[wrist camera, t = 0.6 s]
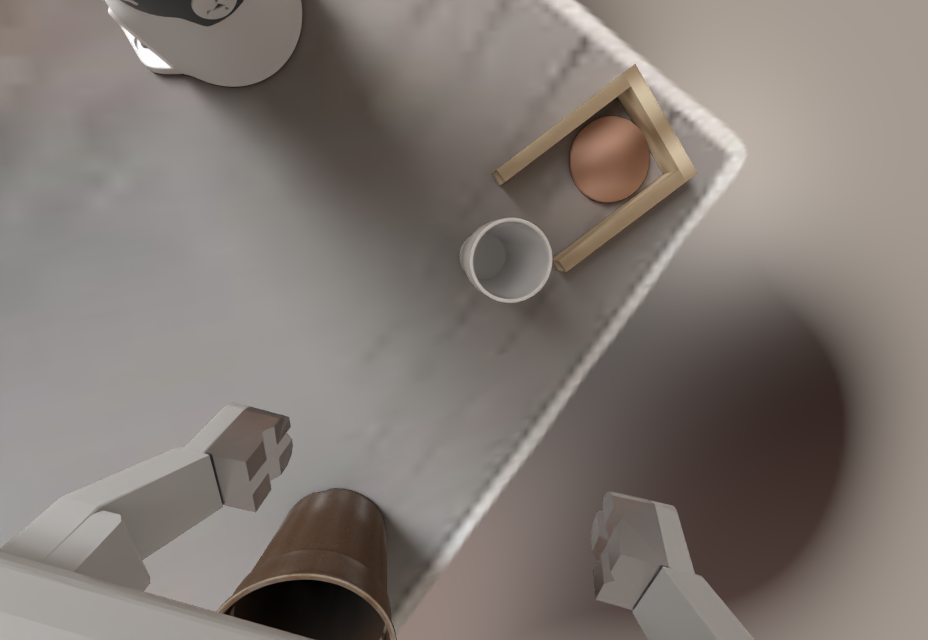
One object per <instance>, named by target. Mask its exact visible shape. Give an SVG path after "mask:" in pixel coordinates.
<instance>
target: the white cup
mask: <svg viewBox="0 0 928 640" xmlns="http://www.w3.org/2000/svg"><path fill="white" fill-rule="evenodd" d="M459 258H460V263H461V266H462V268H463V270H464V271H465V273H466V276H467V278H468V279H469V281H470V282H471V284H472V285H473V286H474V287H475V288H476V289H477V290H478V291H479V292H481V293H482V294H484V295H485V296H487V297H489V298H491V299H494V300H496V301H499V302H504V303H516V302H521V301H524V300H526V299H529V298H530V297H532V296H534V295H535V294H536V293H537V292H539V291H540V290H541V289H542V287H543V286H544V285H545V283H546V282H547V280H548V278H549V275H550V273H551V269H552V261H553V257H552V250H551V246H550V243H549V241H548V239H547V237H546V236H545V234H544V233H543V232H542V231H541V230H540V229H539V228H538V227H537V226H536V225H534V224H533V223H531V222H529V221H527V220H524V219H520V218H501V219H496V220H493V221H490V222H488V223H486V224H484V225H482V226H481V227H479V228H478V229H477V230H476V231H474V233H473V234H472V235H471V236H469V237H468V238H467V239H466V240H465V241H464V243H463V244H462V246H461V249H460V255H459Z"/></svg>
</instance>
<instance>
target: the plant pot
mask: <svg viewBox="0 0 928 640" xmlns="http://www.w3.org/2000/svg"><path fill="white" fill-rule="evenodd" d="M217 612H218V613H222V614H226V615H229V616H233V617H236V618H240V619H243V620H247V621H250V622H254V623H258V624H261V625H265V626H268V627H272V628H275V629H279V630H283V631H286V632H290V633H293V634H297V635H300V636H304V637H307V638H311V639H315V640H396V634H395V630H394V626H393V623H392V621H391V608H390V602H389V598H388V595H387V571H386V529H385V524H384V521H383V517H382V515H381V513H380V511H379V510H378V508H377V507H376V506H375V505H374V504H373V503H372V502H371V501H370V500H368V499H367V498H366V497H364V496H362V495H360V494H358V493H356V492H353V491H350V490H345V489H329V490H327V491H323V492H318V493H312V494H309V495H308V496H306V497H304V498H303V499H301V500H300V501H299V502H298V503H297V504H296V505H295V506H294V507H293V508H292V509H291V510H290V512H289V513H288V515H287V516H286V518H285V520H284V521H283V523H282V525H281V526H280V528H279V529H278V531H277V533H276V534H275V536H274V537H273V539H272V541H271V542H270V544H269V545H268V547H267V548H266V550H265V552H264V553H263V555H262V556H261V558H260V559H259V561H258V562H257V564H256V566H255V567H254V569H253V570H252V572H251V573H250V574H249V575H248V576H247V577H246V578H245V579H244V580H243V581H242V582H241V584H240V585H239V586H238V588H237V589H236V591H235V592H234V594H233V595H232V596H231V597H230V598H229V599H228V600H227V601H225V602H224V603H223V605H222V606H221V607H220V608H219V609H218V611H217Z"/></svg>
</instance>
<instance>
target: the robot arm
mask: <svg viewBox="0 0 928 640" xmlns="http://www.w3.org/2000/svg"><path fill="white" fill-rule="evenodd" d="M99 1H104V0H99ZM105 1H106V3H107V4H108V6H109V9H108V13H109V14H110V15H111V16H112V18H113V19H114V20H115V21H116V22H118V23H119V24H120V26H121V28H122V29H123V31H124V33H125V35H126V36H127V38H128V40H129V42H130V43H131V45H132V47H133V49H134V50H135V52H136V54H137V55H138V57H139V59H140V60H141V62H142V63H143V64H144V65H145V66H146V67H147V68H148V69H150V70H151V71H153V72H155V73H159V74H186V75H190V76H193V77H195V78H198V79H200V80H203V81H205V82H208V83H211V84H215V85H220V86H229V87H237V86H246V85H251V84H254V83H257V82H260V81H262V80H264V79H266V78H268V77H270V76H271V75H273V74H274V73H276V72H277V71H278V70H279V69H280V68H281V67H282V66H283V65H284V64H285V63H286V62H287V60H288V59H289V58H290V56H291V54H292V53H293V51H294V49H295V47H296V44H297V42H298V39H299V36H300V31H301V26H302V2H301V0H105ZM145 46H146V47H147V48H145ZM290 427H291V426H290V420H289V417H287V416H284V415H280V414H276V413H273V412H269V411H265V410H261V409H257V408H254V407H249V406H245V405H241V404H237V403H233V402H232V403H230V404H227V405H226V406H224V407H223V408H222V409H221V410H220V411H219V412H218V413H217V414H216V415H215V416H214V417H213V418H212V419H211V420H210V422H209V423H208V424H207V425H206V426H205V427H204V428H203V429H202V430H201V431H200V432H199V433H198V434H197V435H196V436H195V437H194V438H193V439H192V440H191V441H190V442H189V443H188V444H187V445H186V446H185V447H184V448H181V447H176V448H174V449H172V450H169V451H167V452H165V453H162V454H160V455H158V456H155V457H153V458H151V459H148V460H146V461H144V462H141V463H139V464H136V465H134V466H132V467H129V468H127V469H125V470H122V471H120V472H118V473H115V474H113V475H111V476H108V477H106V478H104V479H101V480H99V481H97V482H94V483H92V484H90V485H87V486H85V487H83V488H80V489H78V490H76V491H73V492H71V493H69V494H66V495H64V496H62V497H60V498H59V499H58V500H57V501H55V502H54V503H53V504H52V505H51V506H50V507H48V508H47V509H46V510H45V511H44V512H43V513H42V514H40V515H39V516H38V517H37V518H36V519H35V520H33V521H32V522H31V523H30V524H29V525H28V526H26V527H25V528H24V529H23V530H22V531H21V532H20V533H18V534H17V535H16V536H15V537H14V538H13V539H11V540H10V541H9V542H8V543H7V544H6V545H4V546H3V547H2V548H1V549H0V640H315V639H311V638H307V637H304V636H300V635H297V634H293V633H290V632H286V631H283V630H279V629H275V628H272V627H268V626H265V625H261V624H258V623H254V622H250V621H247V620H243V619H240V618H236V617H233V616H229V615H226V614H222V613H218V612H215V611H211V610H208V609H204V608H201V607H197V606H194V605H190V604H186V603H183V602H179V601H176V600H172V599H169V598H165V597H161V596H158V595H154V594H151V593H147V592H144V590H145V589H146V588H147V586H148V585H149V584H150V576H149V574H148V572H147V570H146V567H145V565H144V563H143V561H142V560H143V559H145V558H146V557H148V556H149V555H151V554H152V553H154V552H155V551H157V550H158V549H160V548H161V547H163V546H165V545H166V544H168V543H169V542H171V541H172V540H174V539H175V538H177V537H178V536H180V535H181V534H183V533H184V532H186V531H187V530H189V529H190V528H192V527H193V526H195V525H196V524H198V523H199V522H201V521H202V520H204V519H205V518H207V517H208V516H210V515H212V514H213V513H215V512H216V511H218V510H219V509H221V508H222V507H223V505H226V506H230V507H235V508H239V509H243V510H248V511H252V512H256V511H257V510H258V508H259V507H260V505H261V504H262V502H263V501H264V499H265V498H266V497H267V495H268V494H269V492H270V491H271V482H270V481H271V480H273V479H275V478H276V477H278V476H280V475H281V474H282V473H283V471H284V470H285V468H286V467H287V465H288V462H289V460H290V457H291V454H292V447H293V444H292V438H291V437H290V436H289V435H288V434H287V431H288V430H289V428H290ZM591 549H592V553H593V555H594V556H595V558H596V559H597V561H598V562H597V563H596V566H595V567H594V569H593V576H594V588H595V599H596V600H599V601H602V602H606V603H609V604H613V605H616V606H620V607H623V608H627V609H630V610H633V614H634V616H635V618H636V620H637V621H638V623H639V625H640V626H641V628H642V630H643V632H644V634H645V636H646V637H647V639H648V640H755V639H754V638H753V637H752V636H751V635H750V633H749V632H748V631H747V630H746V629H745V627H744V626H743V625H742V624H741V623H740V621H739V620H738V619H737V618H736V617H735V615H734V614H733V613H732V612H731V611H730V609H729V608H728V607H727V606H726V605H725V603H724V602H723V601H722V600H721V599H720V598H719V596H718V595H717V594H716V593H715V592H714V590H713V589H712V588H711V587H710V585H709V584H708V583H707V582H706V581H705V580H704V578H703V577H702V576H699V575H696V574H695V572H694V569H693V565H692V562H691V559H690V555H689V552H688V548H687V545H686V541H685V538H684V534H683V531H682V527H681V524H680V520H679V517H678V513H677V510H676V509H675V507H674V506H672V505H668V504H663V503H659V502H654V501H650V500H647V499H643V498H638V497H634V496H629V495H625V494H620V493H616V492H611V491H608V492H607V493H606V494H605V496H604V498H603V509H602V510H600V511H598V512H597V513H596V516H595V518H594V521H593V525H592V531H591Z"/></svg>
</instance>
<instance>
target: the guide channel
mask: <svg viewBox="0 0 928 640" xmlns="http://www.w3.org/2000/svg"><path fill="white" fill-rule="evenodd" d="M616 97H618V98H619V100H620V101H621V103H622V105H623V106H624V108H625V110H626V112H627V113H628V115H629V117H630V118H631V120H632V122H633V123H632V122H631V121H629V120H627V119H625V118H622V117H618V116H606V117H602V118H599V119H597V120H594V121H593V122H591V123H590V124H588V125H587V126H586V127H584V128H583V129H582V130H581V131H580V133H579V134H578V135H577V137H576V138H575V140H574V142H573V145H572V147H571V151H570V157H569V167H570V173H571V176H572V179H573V181H574V183H575V185H576V186H577V188H578V189H579V190H580V191H581V192H582V193H583V194H584V195H585V196H587V197H588V198H590V199H592V200H595V201H598V202H604V203H608V202H615V201H619V200H622V199H624V198H627V197H628V196H630V195H631V194H633V193H634V192H635V191H636V190H637V189H638V188H639V187H640V185H641V184H642V182H643V181H644V179H645V177H646V174H647V172H648V168H649V162H650V153H649V151H650V152H651V154H652V156H653V157H654V159H655V161H656V163H657V164H658V166H659V168H660V169H661V171H662V173H663V175H662V176H661V177H659V178H658V179H657V180H655V181H654V182H653V183H651V184H650V185H649V186H647V187H646V188H645V189H643V190H642V191H641V192H639V193H638V194H637V195H635V196H634V197H633V198H631V199H630V200H629V201H628V202H626V203H625V204H624V205H622V206H621V207H620V208H618V209H617V210H616V211H614V212H613V213H612V214H610V215H609V216H608V217H606V218H605V219H604V220H602V221H601V222H600V223H598V224H597V225H596V226H594V227H593V228H592V229H590V230H589V231H588V232H586V233H585V234H584V235H583V236H581V237H580V238H579V239H577V240H576V241H575V242H573V243H572V244H571V245H569V246H568V247H567V248H565V249H564V250H563V251H561V252H560V253H559V254H557V255H556V256H555V257H553V261H552V263H553V264H554V266H555V267H556V269H557V270H558V271H564V272H567V271H569V270H570V269H571V268H573V267H574V266H575V265H577V264H578V263H579V262H580V261H582V260H583V259H584V258H586V257H587V256H588V255H590V254H591V253H592V252H594V251H595V250H596V249H598V248H599V247H600V246H602V245H603V244H604V243H606V242H607V241H608V240H610V239H611V238H612V237H614V236H615V235H616V234H618V233H619V232H620V231H622V230H623V229H624V228H626V227H627V226H628V225H630V224H631V223H632V222H633V221H635V220H636V219H637V218H639V217H640V216H641V215H643V214H644V213H645V212H647V211H648V210H649V209H651V208H652V207H653V206H655V205H656V204H657V203H659V202H660V201H661V200H663V199H664V198H665V197H667V196H668V195H669V194H671V193H672V192H673V191H675V190H676V189H677V188H679V187H680V186H681V185H683V184H684V183H685V182H686V181H688V180H689V179H690V178H692V177H693V176H694V175H696V174H697V171H696V170H695V168H694V166H693V164H692V163H691V161H690V159H689V157H688V156H687V154H686V152H685V150H684V149H683V147H682V145H681V143H680V142H679V140H678V138H677V136H676V135H675V133H674V131H673V129H672V128H671V126H670V124H669V122H668V121H667V119H666V117H665V115H664V113H663V112H662V110H661V108H660V106H659V105H658V103H657V101H656V99H655V98H654V96H653V94H652V92H651V91H650V89H649V87H648V85H647V84H646V82H645V80H644V78H643V77H642V75H641V73H640V71H639V70H638V68H637V66H636V64H635V65H633V66H632V67H631V68H629V69H628V70H627V71H625V72H624V73H623V74H621V75H620V76H619V77H617V78H616V79H615V80H614V81H612V82H611V83H610V84H608V85H607V86H606V87H604V88H603V89H602V90H600V91H599V92H598V93H596V94H595V95H594V96H593V97H591V98H590V99H589V100H587V101H586V102H585V103H583V104H582V105H581V106H579V107H578V108H577V109H575V110H574V111H573V112H572V113H570V114H569V115H568V116H566V117H565V118H564V119H562V120H561V121H560V122H558V123H557V124H556V125H554V126H553V127H552V128H551V129H549V130H548V131H547V132H545V133H544V134H543V135H541V136H540V137H539V138H537V139H536V140H535V141H533V142H532V143H531V144H530V145H528V146H527V147H526V148H524V149H523V150H522V151H520V152H519V153H518V154H516V155H515V156H514V157H512V158H511V159H510V160H509V161H507V162H506V163H505V164H503V165H502V166H501V167H499V168H498V169H497V170H496V171H495V172H494V173H492V175H493V177H494V178H495V180H496V181H497V183H498V184H499V186H500V185H502V184H503V183H504V182H506V181H507V180H508V179H510V178H511V177H512V176H514V175H515V174H516V173H518V172H519V171H520V170H522V169H523V168H524V167H526V166H527V165H528V164H529V163H531V162H532V161H533V160H535V159H536V158H537V157H539V156H540V155H541V154H543V153H544V152H545V151H547V150H548V149H549V148H550V147H552V146H553V145H554V144H556V143H557V142H558V141H560V140H561V139H562V138H564V137H565V136H566V135H568V134H569V133H570V132H572V131H573V130H574V129H575V128H577V127H578V126H579V125H581V124H582V123H583V122H585V121H586V120H587V119H589V118H590V117H591V116H593V115H594V114H595V113H596V112H598V111H599V110H600V109H602V108H603V107H604V106H606V105H607V104H608V103H610V102H611V101H612V100H614V99H615V98H616Z"/></svg>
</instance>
